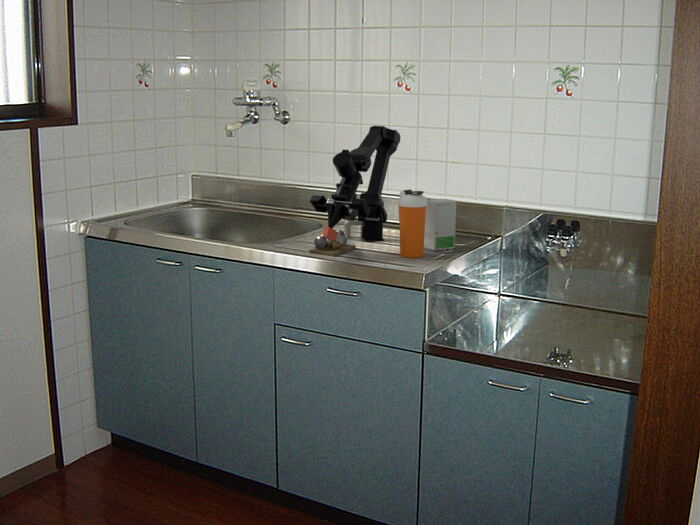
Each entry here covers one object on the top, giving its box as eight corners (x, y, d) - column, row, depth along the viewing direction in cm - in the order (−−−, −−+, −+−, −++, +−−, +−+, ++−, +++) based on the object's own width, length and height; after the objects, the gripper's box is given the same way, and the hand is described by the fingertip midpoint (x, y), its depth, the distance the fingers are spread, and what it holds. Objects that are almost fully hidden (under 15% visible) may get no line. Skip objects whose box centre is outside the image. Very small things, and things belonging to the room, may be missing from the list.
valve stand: (331, 245, 272) (331, 227, 271) (355, 248, 268) (355, 230, 267) (309, 253, 261) (309, 234, 260) (334, 256, 257) (334, 237, 256)
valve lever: (344, 237, 264) (324, 226, 252) (348, 237, 263) (329, 226, 252) (342, 246, 263) (322, 236, 252) (346, 247, 262) (326, 236, 251)
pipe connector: (362, 240, 281) (362, 210, 278) (332, 240, 281) (332, 210, 278) (362, 234, 290) (362, 205, 288) (333, 234, 290) (333, 205, 288)
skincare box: (433, 251, 264) (435, 202, 261) (422, 247, 270) (423, 199, 266) (456, 248, 268) (457, 200, 264) (444, 245, 274) (445, 197, 270)
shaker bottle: (417, 259, 252) (419, 193, 248) (391, 256, 257) (392, 191, 252) (431, 254, 260) (432, 190, 255) (405, 251, 264) (406, 187, 260)
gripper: (383, 204, 262) (366, 246, 255) (332, 200, 271) (314, 240, 264) (371, 182, 253) (353, 224, 246) (318, 178, 262) (299, 219, 255)
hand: (329, 227), depth 253 cm, fingers closed, pressing on valve lever
